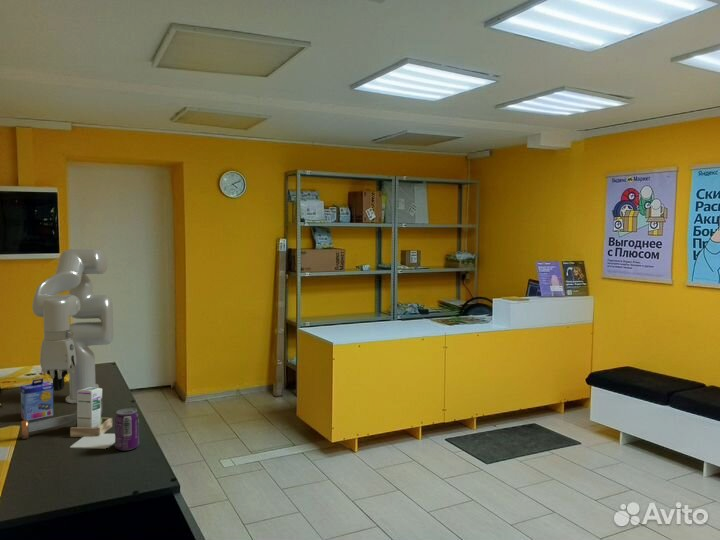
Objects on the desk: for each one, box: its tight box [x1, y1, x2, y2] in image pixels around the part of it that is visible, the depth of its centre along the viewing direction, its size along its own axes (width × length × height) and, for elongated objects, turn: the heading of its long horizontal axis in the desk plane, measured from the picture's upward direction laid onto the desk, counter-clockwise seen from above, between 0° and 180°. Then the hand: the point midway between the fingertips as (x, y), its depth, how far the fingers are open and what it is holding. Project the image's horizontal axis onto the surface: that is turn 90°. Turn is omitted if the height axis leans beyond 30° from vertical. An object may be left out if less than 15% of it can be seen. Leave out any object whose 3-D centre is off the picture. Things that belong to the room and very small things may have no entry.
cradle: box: [69, 417, 114, 438], centre depth 197 cm, size 11×10×3 cm
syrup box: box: [76, 387, 103, 428], centre depth 197 cm, size 6×6×14 cm
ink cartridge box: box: [20, 378, 54, 422], centre depth 211 cm, size 10×6×14 cm, turn 137°
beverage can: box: [114, 407, 140, 452], centre depth 183 cm, size 7×7×12 cm
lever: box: [20, 409, 77, 440], centre depth 195 cm, size 19×2×6 cm, turn 134°
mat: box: [69, 433, 115, 450], centre depth 188 cm, size 12×12×1 cm
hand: (58, 389), depth 191 cm, fingers closed
